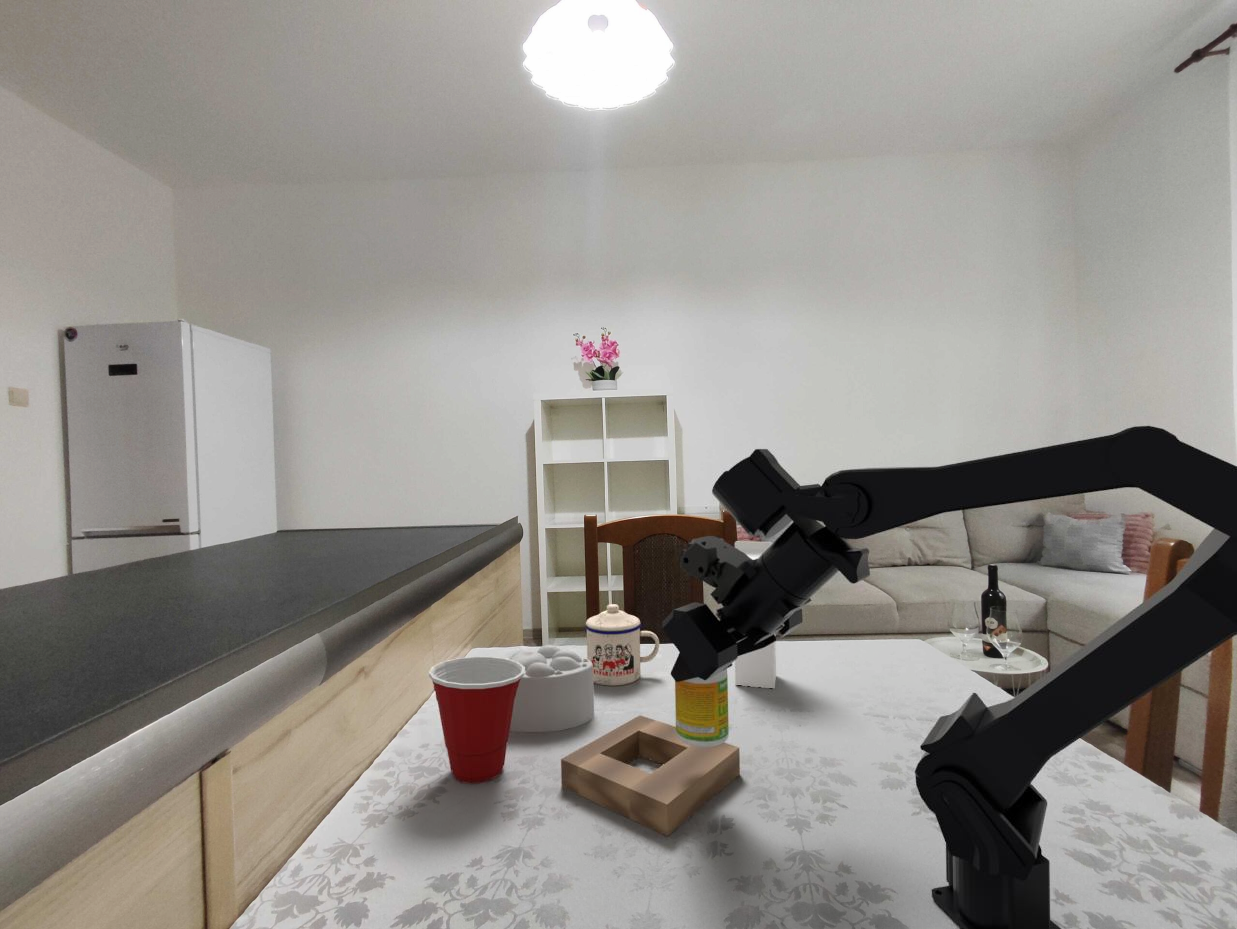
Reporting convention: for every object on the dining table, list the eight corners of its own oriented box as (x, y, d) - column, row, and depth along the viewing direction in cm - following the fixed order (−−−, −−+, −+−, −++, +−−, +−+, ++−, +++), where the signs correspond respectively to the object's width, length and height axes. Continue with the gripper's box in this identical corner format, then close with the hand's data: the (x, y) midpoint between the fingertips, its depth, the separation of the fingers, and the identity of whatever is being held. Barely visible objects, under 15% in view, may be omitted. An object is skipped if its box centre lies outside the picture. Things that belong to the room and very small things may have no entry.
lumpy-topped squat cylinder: (510, 700, 89) (508, 642, 89) (597, 700, 89) (596, 641, 89) (491, 732, 79) (490, 666, 79) (590, 732, 78) (589, 666, 78)
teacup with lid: (584, 687, 94) (582, 612, 94) (588, 667, 103) (586, 599, 103) (661, 686, 93) (660, 611, 93) (658, 666, 103) (657, 598, 102)
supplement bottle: (728, 750, 59) (726, 651, 59) (673, 746, 60) (671, 649, 60) (729, 726, 64) (727, 635, 64) (678, 723, 65) (676, 633, 65)
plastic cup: (546, 770, 69) (543, 666, 69) (458, 808, 62) (455, 691, 62) (497, 738, 77) (495, 645, 77) (415, 768, 70) (412, 665, 70)
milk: (738, 672, 99) (735, 538, 99) (776, 675, 97) (773, 539, 97) (734, 686, 93) (731, 543, 93) (775, 689, 91) (772, 544, 91)
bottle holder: (739, 774, 67) (739, 747, 67) (667, 836, 56) (667, 804, 56) (640, 738, 76) (639, 715, 76) (561, 786, 65) (561, 758, 65)
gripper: (772, 504, 67) (690, 592, 74) (677, 519, 52) (587, 627, 59) (846, 583, 62) (751, 669, 69) (763, 624, 47) (653, 727, 54)
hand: (689, 669), depth 63 cm, fingers closed on supplement bottle, 5 cm apart
